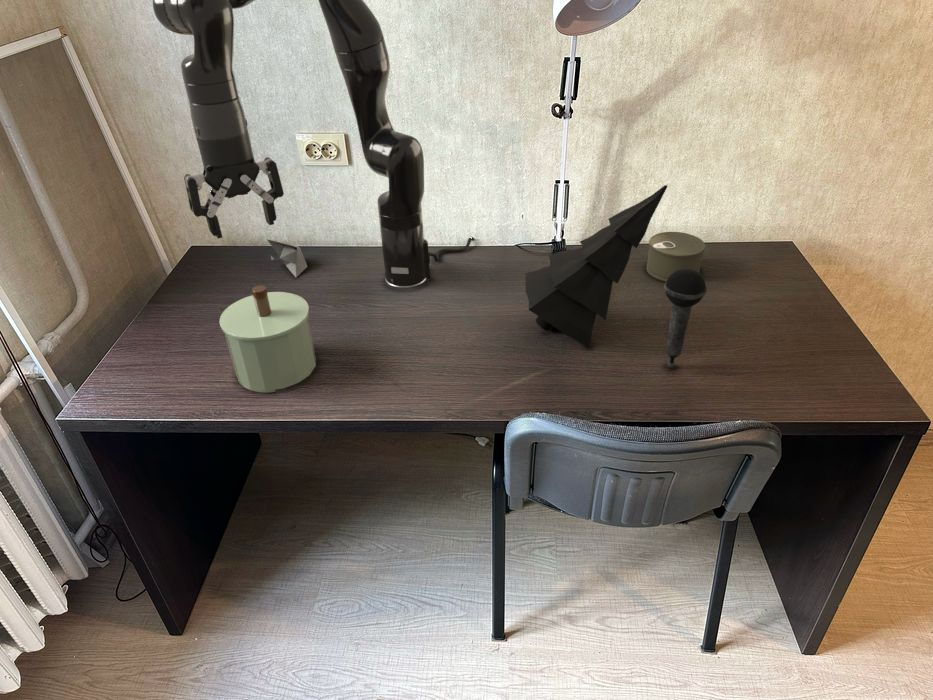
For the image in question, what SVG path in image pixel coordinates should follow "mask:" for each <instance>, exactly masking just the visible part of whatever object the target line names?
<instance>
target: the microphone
mask: <svg viewBox="0 0 933 700" xmlns="http://www.w3.org/2000/svg"><path fill="white" fill-rule="evenodd" d="M663 288H664V292H665V295H666V297H667V300H668V301H670V302H671V303H672V305H671V310H670V318H669V326H668V333H667V341H666V347H665V353H666V354H667V355H668V357H669V361H668V362H667V365H666V366H667V368H668V369H674V368H675V367H676V363H675V358H678V357H679V356H681V354H682V351H683V346H684V341H685V337H686V335H687V334H686V333H687V329H688V324H689V320H690V318H691V317H690V316H691V311H692V307H694V306H695V305H696V304H698V303H700V302H701V300H703V298H704V296H705V295H706V293H707V284H706V281H705V278H704V277H703V275H702V274H701V273H700V272H697V271H696V270H693V269H689V268H682V269H679V270H676V271H675V272H673V273H672V274H671V275H670V276H669V277H668V279H667V281H664V285H663Z"/></svg>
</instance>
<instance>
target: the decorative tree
mask: <svg viewBox="0 0 933 700" xmlns="http://www.w3.org/2000/svg"><path fill="white" fill-rule="evenodd" d="M667 188H668V185H667V184H665V185H663V186H662V187H660V188H659V189H658V190H656V191H655V192H654V193H653V194H651V195H650V196H648V197H647V198H644V199H643V200H641V201H639V202H638V203H636V204H634V205H632V206H629V207H628V208H625V209H623V210H621V211H619V212H618V213H616V214H614V215H613V216H611V217H610V218H608V222H609V225H607V226H605V227H603V228H601V229H599V230H598V231H597V232H595V233H594V234H592V235H591V236H588V237H587V238H584V239H582V240H580V241H579V243H580V245H581V247H578V248H573V249H567V250H560V251H557V252H555V253H552V254H550V255H548V258H549V265H550V266H545V267H541V268H539V269H536V270H532V271H528V272H525V294H526V297H527V300H528V311H530V312H531V313H532V314H534V315H536V316H537V317H536V318H535V322H536V324H537V325H538V327H540V328H541V329H542V330H544V331H547V332H549V331H551V330H552V329H553V328H555V329H557V330H558V331H560V332H562V333H563V334H564V335H566V336H568V337H569V338H570V339H573V340H574V341H576V342H577V343H578V344H580V345H582V346H584V347H586V348H588V349H590V344H591V337H592V333H593V328H594V324H595V322H596V317H597V316H599V317H600V318H601V319H603V320H604V321H606V320H607V314H608V310H609V304H610V299H611V294H612V290H613V289H612V288H613V283H615V284H618V283H619V282H620V280H621V278H622V276H623V274H624V272H625V271H626V268H627V265H628V262H629V260H630V257H631V253H632V248H635V249H637V248H638V247H639V245H640V243H641V242H642V240H643V238H644V236H645V235H646V233H647V230H648V227H649V225H650V223H651V220H652V217H654V214H655V212H656V210H657V208H658V206H659V204H660V202H661V200H662V198H663V196H664V194H665V193H666V191H667Z"/></svg>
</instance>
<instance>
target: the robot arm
mask: <svg viewBox="0 0 933 700" xmlns="http://www.w3.org/2000/svg"><path fill="white" fill-rule="evenodd" d="M255 1H256V0H152V9H153V13H154V15H155V18H156V19H157V20H158V22H159V23H160V24H161V26H163V27H164V28H165V29H167V30H168V31H169V32H172V33H175V34H178V35H184V36H185V35H186V36H193V53H192V54H189V55H187V56H185V57H184V58H183V59H182V61H181V63H180V70H181V76H182V80H183V84H184V87H185V92H186V96H187V100H188V103H189V112H190V118H191V122H192V126H193V131H194V135H195V138H196V142H197V146H198V149H199V155H200V157H201V162H202V166H203V172H202V174H195V175H192V174H190V173H187V174H185V175H184V177H183V180H184V181H183V182H184V185H185V189H186V195H187V199H188V205H189V209H190V211H191V212H192V214H193V215H194V216H195V217H197V218H198V217H205V219H206V223H207V226H208V230H209V232H210V233H211V234H212V236H213V237H216V238H217V239H218V240H219V239H222V238H223V233H222V230H221V225H220V221H219V219H218V215H216V214H217V211H218V209H219V208H220V206H222V204H223V201H224V200H225V198H227V199H233V198H235V197H237V196H246V195H248V194H249V193H250V192H251V191H252V192H254V193H255V194H256V195H257V196H259V197H260V198H261V199H262V200H261V204H262V209H263V213H264V219H265V222H266V223H267V225H269V226H273V225H275V221H277V212H276V208H275V200H277V199H278V198H282V197H283V196H284V194H285V193H284V188H283V185H282V181H281V177H280V173H279V169H278V165H277V163H276V161H274V160H273V159H272V158H270V157H269V156H267V157H265V158H264V160H261V161H259V162H256V161H255V157H254V153H253V147H252V143H251V137H250V133H249V127H248V121H247V118H246V115H245V110H244V108H243V105H242V102H241V98H240V95H239V89H238V85H237V79H236V75H235V72H234V67H233V66H234V52H235V51H234V50H235V49H234V47H235V46H234V45H235V41H234V40H235V14H234V10H235V9H237V10H238V9H242V8H244V7H247V6H248V5H250V4H252V3H254V2H255ZM318 3H319V7H320V10H321V12H322V15H323V18H324V21H325V24H326V27H327V30H328V32H329V37H330V39H331V44H332V48H333V50H334V54H335V55H336V59H337V63H338V65H339V69H340V71H341V74H342V77H343V80H344V83H345V86H346V89H347V90H346V91H347V92H348V98H349V99H350V100H349V101H350V103H351V106H352V109H353V111H354V112H353V113H354V116H355V121H356V125H357V129H358V134H359V139H360V144H361V148H362V153H363V156H364V160H365V162H366V164H367V167H369V169H370V170H371V171H372V172H373V173H375V174H377V175H378V176H381V177H383V178H387V179H388V190H387V191H384V192H382V193H381V194H379V196H378V197H377V211H378V219H379V220H378V221H379V229H380V239H381V249H382V257H383V258H382V259H383V266H384V281H385V284H387V285H388V286H389V287H391V288H394V289H399V290H409V289H413V288H417V287H420V286H422V285H424V284H425V283H426V282H427V280H430V279H431V270H430V264H431V257H433V259H434V261H435V262H439V260H440V255H441V254H443V253H448V252H449V253H460V252H465V251H467V249H468V248H469V247H470V245H471V242H472V241H475V238H474V237H473V236H471V237H472V239H471V238H469V237H468V239H467V242H466V244H465V245H464V246H462V247H459V248H450V247H449V248H447V247H446V248H441V249H439V250H437V251H436V253H434V252H430V251H429V242H428V241H427V239H425V233H424V222H423V221H424V219H423V205H422V204H423V203H422V202H423V198H424V195H425V158H424V157H425V156H424V151H423V147H422V145H421V143H420V141H419V140H418V139H417V138H416V137H414V136H412V135H411V134H406V133H403V132H399V131H396V130H395V129H394V127H393V125H392V121H391V119H390V116H389V113H388V109H387V104H386V94H387V88H388V83H389V78H390V72H391V71H390V70H391V62H390V56H389V51H388V48H387V44H386V40H385V37H384V33H383V30H382V27H381V25H380V23H379V21H378V19H377V17H376V15H375V14H374V12H373V11H372V10H371V8H370V7H369V6H368V5H367V3H365V1H364V0H318ZM260 171H262V173H263V174H264V175H266V176H267V178H268V182H269V186H270V189H269V190H265V189H264V188H263V187H262V186H261V185H259V184H258V183H257V182H256V181H257V178H258V176H259V174H260ZM204 183H206V185H208V186H209V187H210V189H209V191H208V193H207V197H206V201H205V202H204V205H202V204H201V199H200V194H199V191H201V190H202V187H203V184H204Z"/></svg>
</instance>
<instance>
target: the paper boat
mask: <svg viewBox="0 0 933 700" xmlns="http://www.w3.org/2000/svg"><path fill="white" fill-rule="evenodd" d="M266 241H267V242H268V243H269V244H270V246H271V247H272V249H273V250H274V252H275V253H276V254H277V256H278V257H277V260H281V261H282V263H283V264H284V265H285V266H286V268H287V269H288V270H289V271H290V273H291V274H292V275H293V276H294V278H297V277H299V276H300V275H301V273H303V272H304V271H305V270H306V269H307V268H308V264H307V262H306V259H305V257H304V254H303V252H302V249H301V247H300V246H297V245H295V244H292V243H289V242H284V241H278V240H273V239H266ZM270 259H271V261H274V260H275V261H276V258H275V257H273V256H272V255H270Z"/></svg>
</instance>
